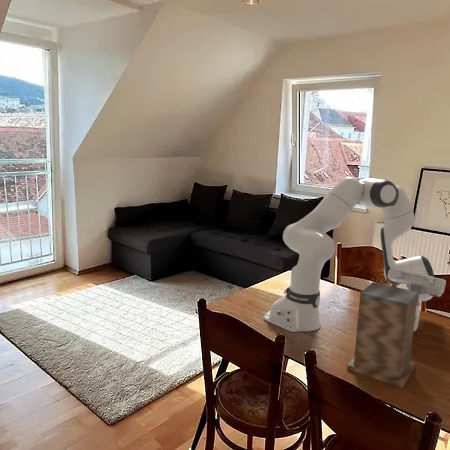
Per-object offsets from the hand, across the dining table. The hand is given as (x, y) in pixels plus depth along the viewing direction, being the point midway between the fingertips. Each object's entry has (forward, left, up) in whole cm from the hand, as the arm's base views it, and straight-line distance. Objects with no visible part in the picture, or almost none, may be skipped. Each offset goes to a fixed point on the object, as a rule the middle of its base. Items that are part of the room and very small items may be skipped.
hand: (413, 275), depth 158 cm
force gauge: (0, +8, -13) cm, 16 cm away
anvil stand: (0, -30, -23) cm, 38 cm away
